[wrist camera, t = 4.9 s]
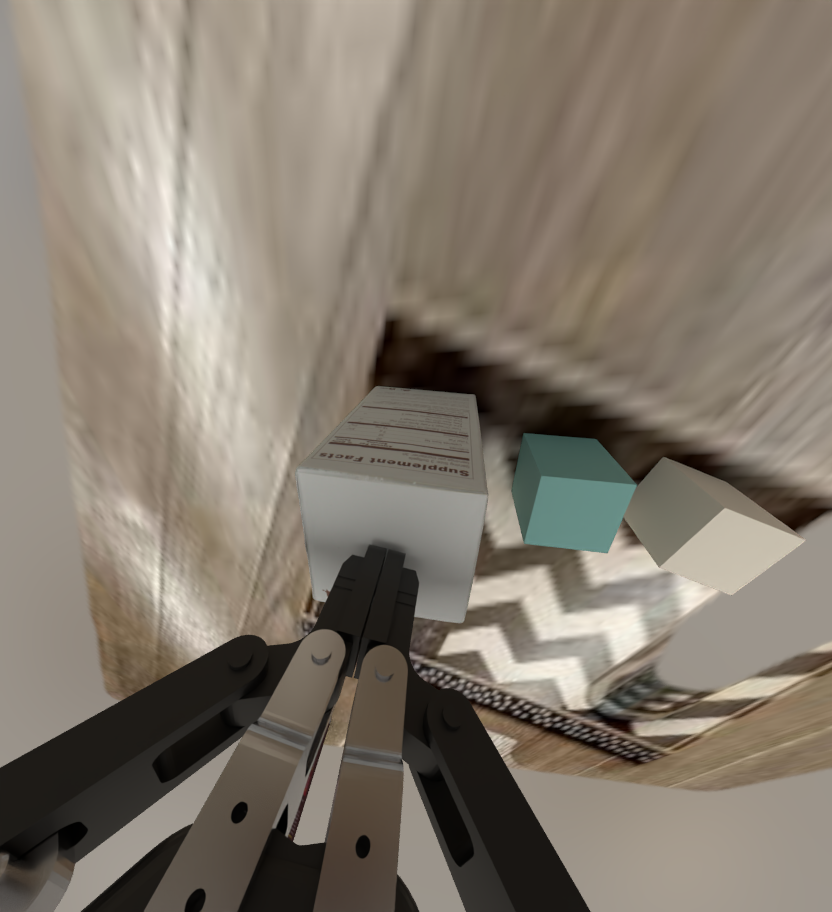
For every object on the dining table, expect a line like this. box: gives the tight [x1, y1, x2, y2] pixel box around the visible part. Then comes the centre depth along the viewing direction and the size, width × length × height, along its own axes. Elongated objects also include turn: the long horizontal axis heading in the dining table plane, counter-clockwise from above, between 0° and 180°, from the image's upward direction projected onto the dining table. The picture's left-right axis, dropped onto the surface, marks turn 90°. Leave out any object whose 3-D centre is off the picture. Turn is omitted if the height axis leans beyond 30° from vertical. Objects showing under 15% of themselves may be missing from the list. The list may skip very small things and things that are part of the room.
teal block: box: [512, 433, 637, 553], centre depth 21 cm, size 5×5×6 cm
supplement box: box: [295, 386, 488, 623], centre depth 18 cm, size 7×7×13 cm
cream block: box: [623, 457, 806, 595], centre depth 21 cm, size 5×5×6 cm
